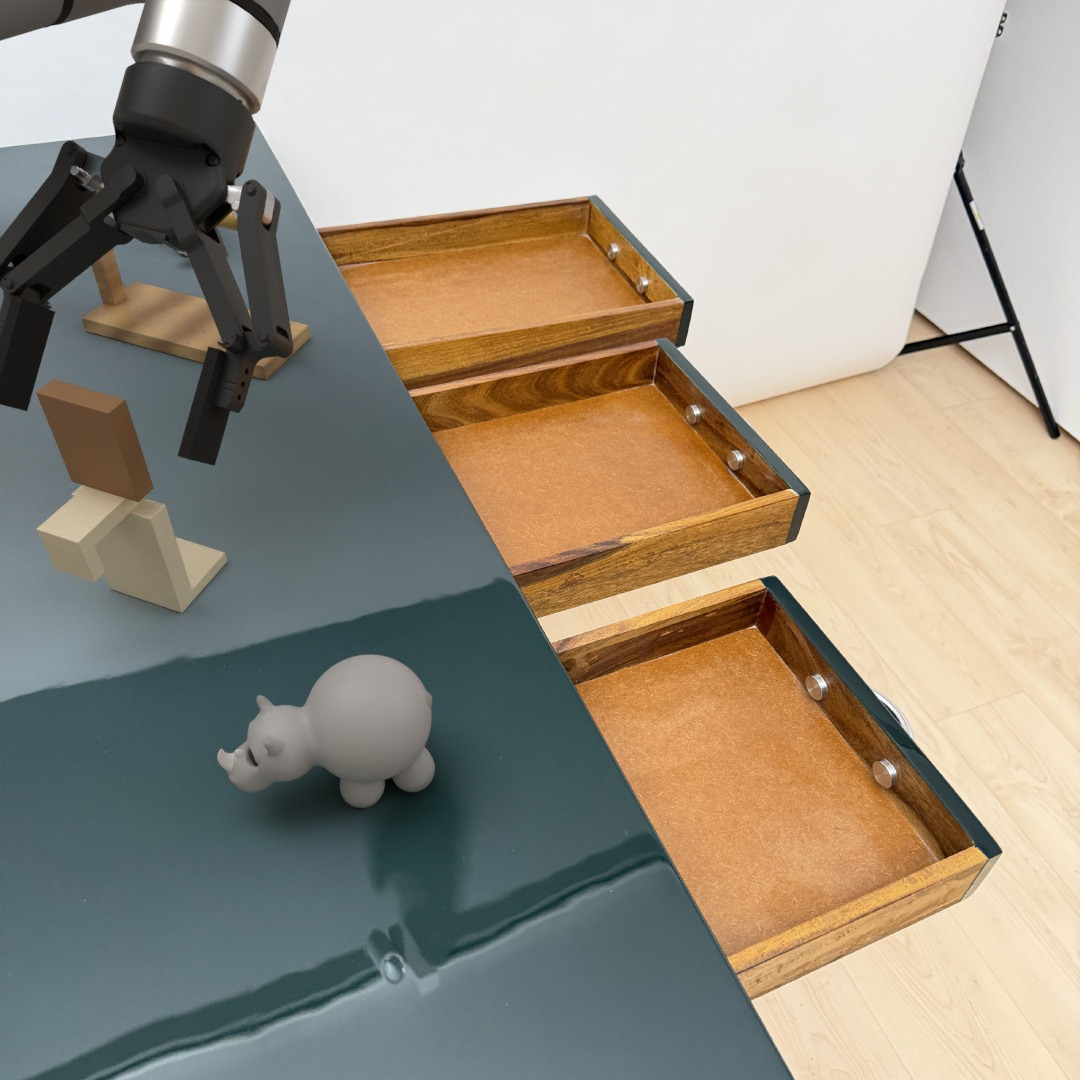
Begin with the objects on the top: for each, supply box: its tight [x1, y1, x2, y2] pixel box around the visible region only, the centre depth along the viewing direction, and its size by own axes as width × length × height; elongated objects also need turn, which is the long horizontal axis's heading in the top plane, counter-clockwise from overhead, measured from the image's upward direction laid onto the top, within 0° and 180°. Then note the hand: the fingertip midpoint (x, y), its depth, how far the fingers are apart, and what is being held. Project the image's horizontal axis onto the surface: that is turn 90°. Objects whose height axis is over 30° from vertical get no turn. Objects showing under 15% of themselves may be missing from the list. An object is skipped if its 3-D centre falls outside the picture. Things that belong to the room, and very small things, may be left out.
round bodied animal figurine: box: [216, 653, 436, 809], centre depth 51 cm, size 7×12×8 cm, turn 109°
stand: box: [81, 191, 311, 381], centre depth 83 cm, size 20×8×14 cm, turn 70°
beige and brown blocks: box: [35, 378, 228, 614], centre depth 57 cm, size 6×10×17 cm, turn 160°
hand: (98, 433), depth 54 cm, fingers open, 13 cm apart
